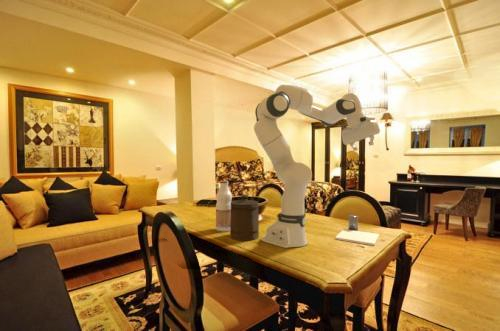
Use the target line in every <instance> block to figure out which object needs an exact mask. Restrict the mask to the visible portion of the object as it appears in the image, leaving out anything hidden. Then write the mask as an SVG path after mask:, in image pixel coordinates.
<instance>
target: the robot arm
mask: <svg viewBox="0 0 500 331" xmlns="http://www.w3.org/2000/svg"><path fill="white" fill-rule="evenodd" d="M313 102H314V98H313V94H312V92H311V90H309V89H308V88H305V87H302V86H298V85H293V84H291V85H290V84H280V85H279V86H278V87H276V90H275V91H274V93H273V94H270V95H269V96H268V97H265V98H264V99H263V100H261V102H260V103H258V105H257V106H256V107H255V117H256V122H255V123H254V125H253V131H254V134H255V136H256V137H257V140H258V142H259V144H260V146H261V147H262V149H263V151H265V153H266V155H267V157H268V158H269V160H270V162H271V164H272V167H273V169H274V171H275V173H276V174H275V175H276V177H277V179H279V181H280V182H281V183H283V184H284V190H283V192H282V196H281V198H280V200H281V201H280V202H281V203H280V204H281V205H280V206H281V208H280V212H279V213H278V214H276V218H277V220H276V221H274V222H272V224H270V225H269V226H268V227H267V229H266V232H265V235H263V236H262V237H261V239H260V240H261V242H264V243H267V244H271V245H274V246H277V247H280V248H283V249H285V248H286V249H288V248H300V247H301V248H302V247H304V246H306V245H308V240H307V236H306V227H305V226H306V215H305V214H304V209H305V198H306V193H307V188H308V185H309V183H310V182H311V180H312V179H313V173H312V169H311V168H310V167H309V165H306V164H305V163H303V162H296V161H295V160H294V158H293V155H292V152H291V146H290V144H289V143H288V141H287V140H286V138H285V136H284V135H283V134H282V132H281V130H280V129H279V127H278V124H277V120H278V119H280V118H281V117H284V116H285V114H287V112H288V110H289V109H290V110H295V111H297V112H298V113H299V114H301V115H303V116H304V117H305V116H306V117H308V118H311V119H314V120H317V121H319V122H321V124H324V125H325V126H327V127H328V126H329V127H330V126H331V127H332V126H334V125H335V124H336V123H337V122H339V121H341V120H342V119H344V118H345V119H346V124H347V127H344V128H343V129H342V130H341V131H340V132H341V138H342V143H343V145H345V146H346V145H348V146H350V147H351V148H352V150H353V151H358V146H355V143H357V142H360V141H362V140H365V139H367V138H369V139H370V140H369V141H368V146H374V140H375V136H376V135H379V134H380V132H381V130H380V127H379V124H378V122H377V121H376V117H375V116H371V115H370V116H366V115H364V113H363V111H362V110H363V107H362V104H361V101H360V98H359V97H358V95H357V94H356V93H355V92H354V93H353V92H349V93H346V94H344V95H343V96H341V98H340V99H337V100H336V101H334V102H332V104H330V105H327V107H325V108H320V107H316V106H314V105H313Z"/></svg>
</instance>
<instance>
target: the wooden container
mask: <svg viewBox="0 0 500 331" xmlns="http://www.w3.org/2000/svg"><path fill="white" fill-rule="evenodd" d="M240 197H241V199H238V200H231V217H230V232H229V233H230V238H231V239H233V240H235V241H242V242H243V241H246V242H247V241H254V240H256V239H258V238H259V237H260V236H259V234H260V233H259V232H260V231H259V229H260V226H259V225H260V222H259V201H257V200H253V199H248V198H249V196H248V195H247V194H242V195H241V196H240Z"/></svg>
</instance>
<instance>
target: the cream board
mask: <svg viewBox="0 0 500 331" xmlns="http://www.w3.org/2000/svg"><path fill="white" fill-rule="evenodd" d="M334 237H335V238H334V239H335V240H337V241H338V240H339V241H344V242H351V243H356V244H363V245H368V246H376V244H377V241H378V240H379V237H380V234H379V233H374V232H373V233H372V232H366V231H361V230H358V231H354V230H349V229H346V228H344V229H342V230H341V231H340V232H339V233H338V234H337V235H336V236H334Z"/></svg>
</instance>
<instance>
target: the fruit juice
mask: <svg viewBox="0 0 500 331" xmlns="http://www.w3.org/2000/svg"><path fill="white" fill-rule="evenodd" d="M229 183H230V182H229V181H228V180H220V181H219V184H220V186H219V189H218V191H217V193H216V195H215V198H216V204H215V230H216V231H217V232H229V231H230V217H231V202H232V201H233V200H232V198H233V194H232V192H231V190H230V187H229Z"/></svg>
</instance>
